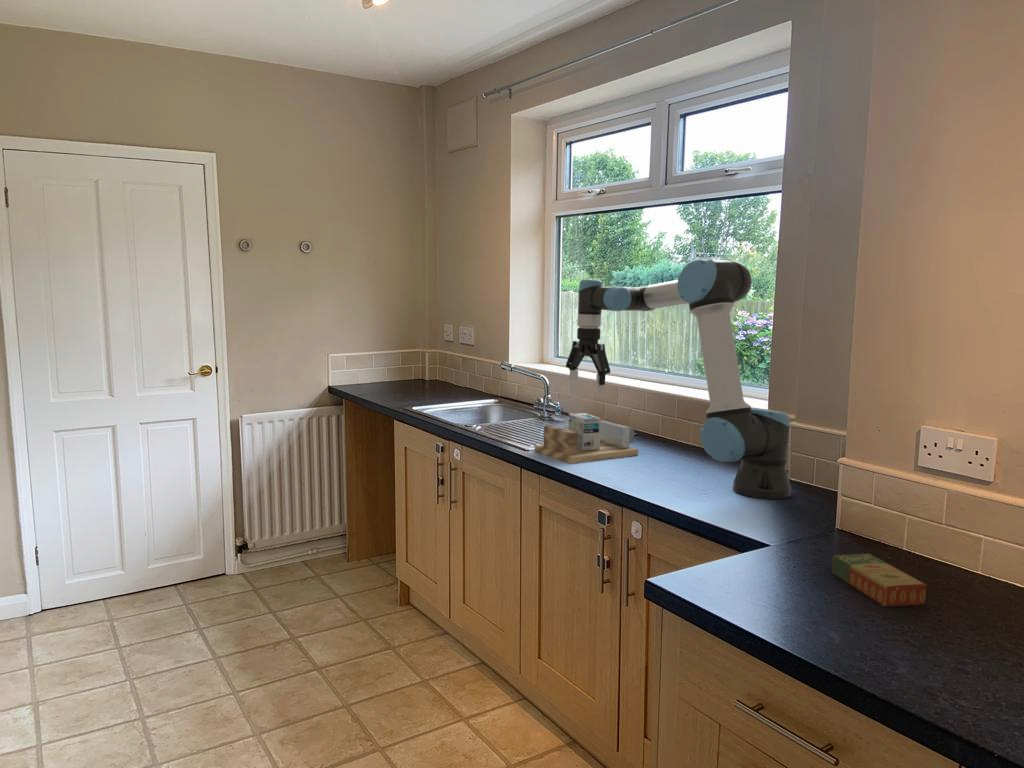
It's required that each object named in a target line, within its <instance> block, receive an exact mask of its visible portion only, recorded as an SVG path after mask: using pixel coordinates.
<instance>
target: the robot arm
mask: <svg viewBox="0 0 1024 768" xmlns="http://www.w3.org/2000/svg"><path fill="white" fill-rule="evenodd" d="M752 280H753V279H752V275H751V272H750V270H749V269H748V267H747V266H745V265H744V264H743V263H741V262H739V261H736V260H729V259H728V260H727V259H715V258H714V259H713V258H708V257H706V258H696V259H692V260H690V261H689V262H687V263H685V265H684V266H683V267H682V270H681V272H679V274H678V278H677V279H676V280H670V281H665V282H661V283H655V284H649V285H645V286H621V285H613V286H611V285H609V286H606V285H605V286H604V285H603V281H602V280H600V279H581V280H580V281H579V286H578V292H577V293H578V298H577V299H578V301H577V302H578V305H577V307H578V308H577V310H578V312H577V324H576V325H577V326H578V328H577V329H576V338H577V339H578V340H572V346H571V350H570V352H569V354H568V357H567V360H566V364H565V368H568V370H569V390H572V391H573V390H578V387H579V368H578V367H579V366H580V365H581V363H582V361H583V360H584V358H585V357H589V358H590V359H591V361H592V362H593V365H594V367H595V369H596V372H597V374H596V377H595V378H596V379H595V380H596V381H595V395H596V396H604V394H605V392H604V391H605V385H606V375H607V374H611V368H610V365H609V361H608V360H609V359H608V358H607V357H608V356H607V354H606V347H605V346H606V344H605V343H599V340H601V329H600V327H601V324H602V322H601V321H602V310H603V311H612V312H620V311H621V312H622V311H637V312H638V311H639V312H649V311H654V310H656V309H659V308H660V309H661V308H667V307H674V306H680V305H681V306H682V305H688V306H689V313H690V314H691V315H693V316H694V317H696V320H697V327H698V332H699V333H698V334H699V340H700V346H701V352H702V358H703V359H702V360H703V365H704V373H705V377H706V386H707V393H708V398H709V404H710V405H709V408H708V409H707V410H706V412H705V418H706V420H705V421H704V422H703V424H702V427H701V428H700V431H699V436H700V442H701V445H702V448H703V449H704V451H705V452H706V453H707V455H708V456H710V457H711V458H712V459H714V460H716V461H718V462H737V461H739V460H740V461H741V463H740V465H739V467H738V470H737V472H736V474H735V477H734V479H733V484H732V489H733V491H734V492H735V493H737V494H740V495H743V496H746V497H751V498H756V499H764V500H766V499H767V500H779V499H780V500H782V499H787V498H789V497H791V494H792V493H791V492H792V485H791V483H790V478H789V474H788V473H789V472H788V471H787V457H788V455H787V454H788V445H789V434H790V433H789V432H790V428H791V427H790V416H789V415H788V413H786V412H782V411H777V410H772V409H768V408H767V409H766V408H759V407H751V405H750V404H748V403H747V402H746V401H745V400H744V394H743V388H742V381H741V375H740V370H739V363H738V355H737V350H736V344H735V337H734V332H733V331H734V329H733V326H732V318H731V317H732V316H731V310H732V309H733V308H734V307H735V303H736V302H740V301H741V300H743V299H745V297H746V296H747V295H748V293H749V292H750V290H751V288H752V283H753V282H752Z"/></svg>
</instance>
